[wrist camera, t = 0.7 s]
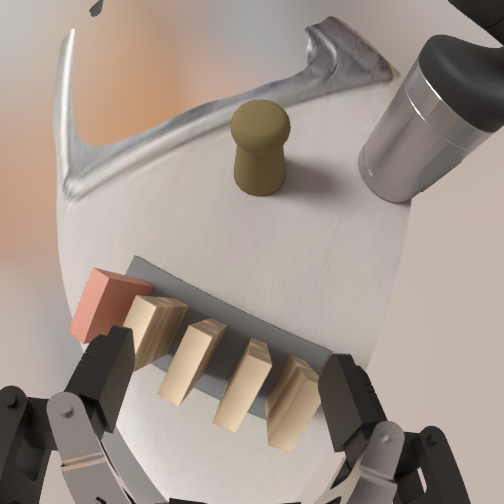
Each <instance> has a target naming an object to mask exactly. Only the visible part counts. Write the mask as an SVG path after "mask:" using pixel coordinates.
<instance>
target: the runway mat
mask: <svg viewBox="0 0 504 504" xmlns="http://www.w3.org/2000/svg"><path fill="white" fill-rule="evenodd" d="M125 276H129V277H134V278H138V279H142V280H143V281H145V282H147V283H149V284H150V285H152V286H154V288H153V291H152V293H151V295H150V296H152V297H165V298H175V299H177V300H179V301H181V302H183V303H185V304H187V305H188V306H189V308H188V310H187V312H186V314H185V316H184V318H183V321H182V323H181V325H180V327H179V329H178V331H177V333H176V335H175V338H174V340H173V342H172V344H171V346H170V348H169V351H168V353H167V354H166V355H164V356H163V357H161V358H159V359H157V360H155V361H153V362H151V364H153V365H154V366H156V367H158V368H159V369H161V370H163V371H165V372H166V373H167V372H168V369H169V367H170V365H171V363H172V361H173V359H174V356H175V354H176V352H177V350H178V348H179V346H180V344H181V341H182V339H183V337H184V335H185V333H186V331H187V329H188V327H189V325H192V324H195V323H198V322H201V321H204V320H207V319H210V318H213V319H215V320H217V321H219V322H221V323H223V324H226V325H227V328H226V330H225V332H224V334H223V336H222V338H221V340H220V342H219V344H218V346H217V348H216V350H215V352H214V354H213V356H212V358H211V360H210V362H209V364H208V366H207V368H206V370H205V372H204V374H203V375H202V377H201V378H200V379H199V381H198V382H197V383H196V385H195V386H194V388H196V389H198V390H200V391H202V392H204V393H206V394H208V395H210V396H212V397H214V398H216V399H218V400H221V399H222V396H223V393H224V391H225V388H226V385H227V383H228V381H229V379H230V378H231V376H232V374H233V372H234V370H235V368H236V366H237V364H238V362H239V360H240V358H241V356H242V354H243V352H244V350H245V348H246V346H247V344H248V342H249V340H250V338H251V337H253V338H255V339H257V340H259V341H261V342H264V343H266V344H267V347H268V351H269V354H270V358H271V362H272V367H271V369H270V371H269V373H268V375H267V376H266V378H265V380H264V382H263V384H262V386H261V388H260V390H259V391H258V393H257V395H256V397H255V399H254V400H253V402H252V404H251V406H250V408H249V409H248V411H247V412H248V413H250V414H253V415H255V416H258V417H260V418H263V419H265V420H266V409H265V401H266V399H267V397H268V395H269V393H270V392H271V390H272V388H273V386H274V384H275V382H276V381H277V379H278V377H279V375H280V373H281V371H282V369H283V367H284V365H285V363H286V361H287V359H288V357H289V356H290V354H291V355H293V356H296V357H298V358H300V359H303V360H305V361H306V362H307V363H308V364H309V365H310V367H311V368H312V369H313V370H314V371H315V372H316V374H317V375H319V373H320V371H321V369H322V367H323V365H324V363H325V361H326V359H327V357H328V355H329V353H330V350H328V349H325V348H323V347H320V346H318V345H316V344H313V343H311V342H309V341H306V340H304V339H302V338H299V337H297V336H295V335H293V334H290V333H288V332H286V331H284V330H281V329H279V328H277V327H275V326H273V325H270V324H268V323H266V322H264V321H262V320H260V319H258V318H255V317H253V316H251V315H249V314H247V313H245V312H243V311H241V310H239V309H237V308H234V307H232V306H230V305H228V304H226V303H224V302H222V301H220V300H218V299H216V298H214V297H212V296H210V295H208V294H206V293H204V292H202V291H200V290H198V289H197V288H195V287H193V286H191V285H189V284H187V283H185V282H183V281H181V280H179V279H177V278H176V277H174V276H172V275H170V274H168V273H166V272H164V271H163V270H161V269H159V268H157V267H155V266H153V265H152V264H150V263H148V262H146V261H144V260H143V259H141V258H139V257H137V256H134V258H133V260H132V262H131V264H130V266H129V268H128V270H127V273H126V275H125Z"/></svg>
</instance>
